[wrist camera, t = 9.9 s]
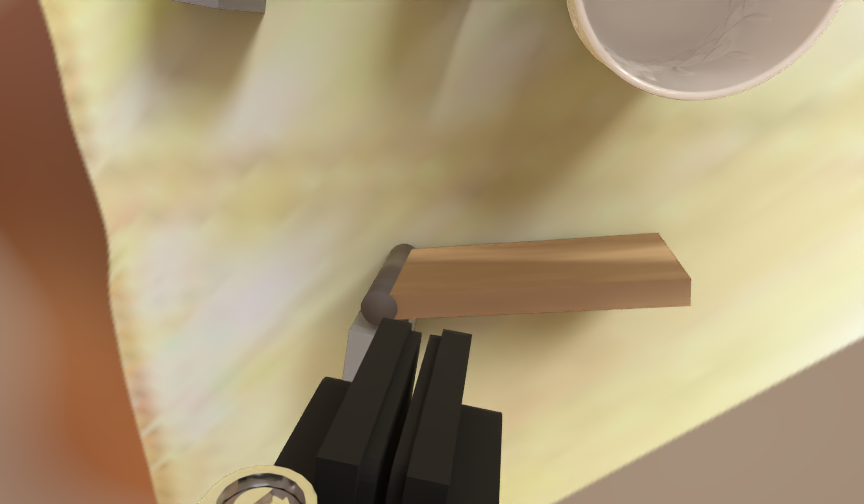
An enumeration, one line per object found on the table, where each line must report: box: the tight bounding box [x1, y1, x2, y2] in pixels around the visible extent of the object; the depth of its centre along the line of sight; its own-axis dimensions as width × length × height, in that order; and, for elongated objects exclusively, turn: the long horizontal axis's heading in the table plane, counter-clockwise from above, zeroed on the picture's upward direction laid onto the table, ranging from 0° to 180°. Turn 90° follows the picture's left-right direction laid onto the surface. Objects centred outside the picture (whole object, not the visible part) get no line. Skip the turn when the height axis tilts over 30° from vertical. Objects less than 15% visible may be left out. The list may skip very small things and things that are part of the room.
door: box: [361, 233, 691, 326], centre depth 28 cm, size 2×14×6 cm, turn 96°
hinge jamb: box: [342, 310, 416, 382], centre depth 31 cm, size 2×5×6 cm, turn 169°
